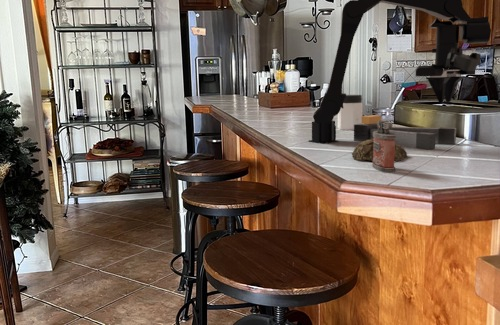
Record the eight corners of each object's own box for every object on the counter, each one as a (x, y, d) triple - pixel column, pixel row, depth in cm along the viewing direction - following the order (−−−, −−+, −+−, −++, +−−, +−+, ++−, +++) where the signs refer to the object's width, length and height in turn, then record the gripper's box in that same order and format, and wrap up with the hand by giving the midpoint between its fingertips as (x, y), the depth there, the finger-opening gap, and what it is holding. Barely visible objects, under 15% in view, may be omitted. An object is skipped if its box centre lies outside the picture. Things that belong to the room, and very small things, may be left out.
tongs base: (426, 151, 120) (427, 131, 119) (353, 141, 141) (354, 124, 140) (449, 147, 125) (450, 128, 124) (375, 138, 146) (375, 122, 145)
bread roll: (358, 153, 122) (359, 134, 121) (409, 156, 116) (410, 135, 115) (344, 162, 111) (344, 140, 110) (399, 165, 105) (400, 142, 104)
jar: (348, 130, 168) (349, 96, 165) (332, 129, 174) (332, 95, 172) (367, 128, 172) (367, 94, 170) (350, 127, 179) (350, 94, 177)
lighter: (369, 165, 104) (369, 119, 102) (384, 164, 105) (385, 118, 103) (382, 172, 96) (383, 122, 95) (398, 172, 97) (400, 122, 95)
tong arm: (454, 144, 128) (454, 128, 127) (383, 141, 138) (383, 126, 137) (455, 143, 130) (456, 127, 129) (385, 140, 140) (385, 125, 139)
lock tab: (369, 123, 138) (369, 116, 137) (361, 123, 140) (361, 116, 140) (381, 122, 140) (381, 115, 140) (373, 121, 143) (373, 115, 143)
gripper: (452, 41, 120) (449, 105, 122) (495, 42, 129) (491, 101, 132) (415, 45, 129) (413, 103, 132) (457, 45, 139) (455, 100, 141)
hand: (444, 102), depth 134 cm, fingers open, 3 cm apart
